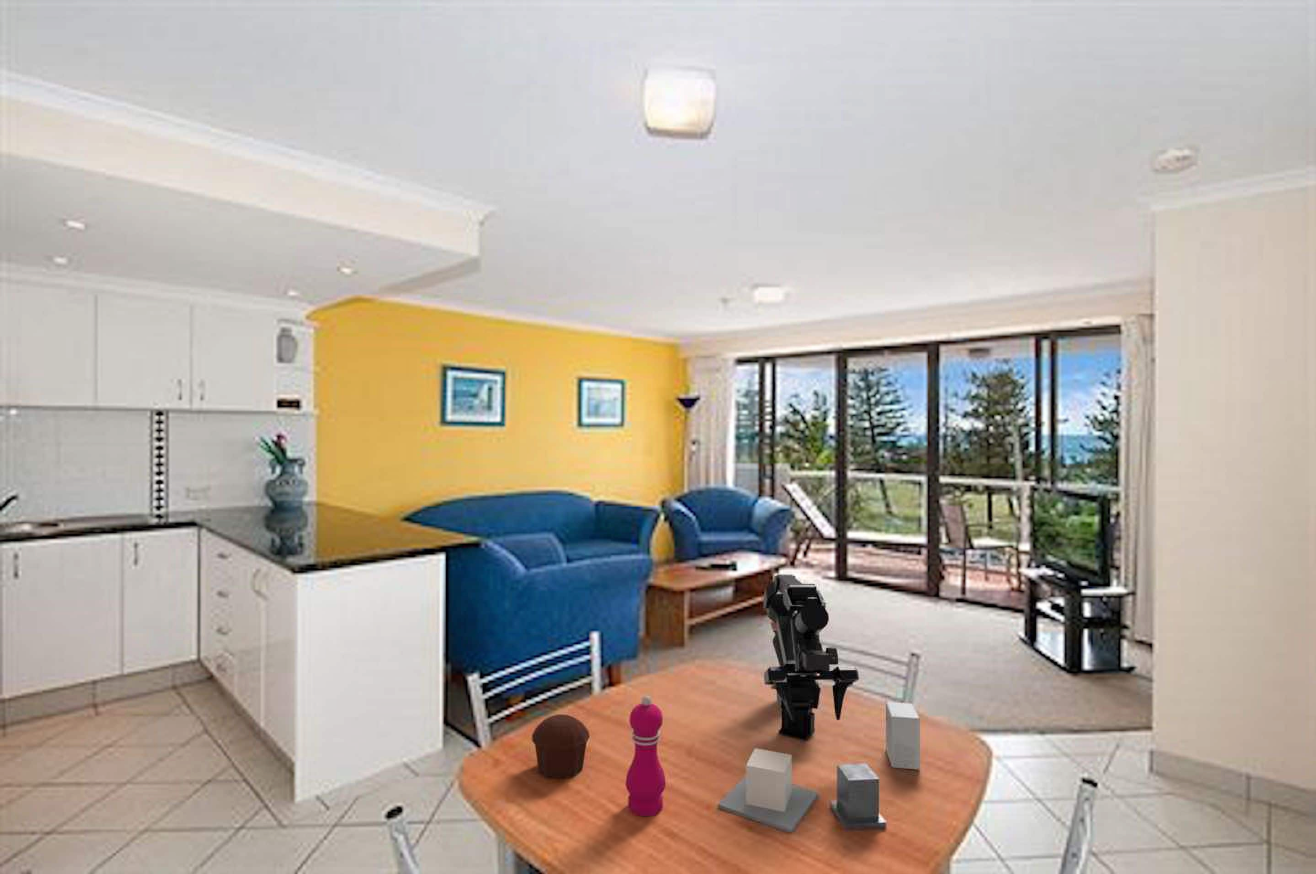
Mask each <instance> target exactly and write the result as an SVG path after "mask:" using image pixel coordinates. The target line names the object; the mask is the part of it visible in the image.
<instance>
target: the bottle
mask: <svg viewBox="0 0 1316 874" xmlns="http://www.w3.org/2000/svg"><path fill="white" fill-rule="evenodd" d="M769 623H770V627H771V630H772V632H773V633H774V636H773V639H772V645H773V647H774V651H775V655H776V657H777V660H778V666H779V667H784V662H783V657H782V652H781V647H780V642H779V637H778V632H777V627H776V624H775V623H774V622H773V621H772V620H771V619H770V621H769Z"/></svg>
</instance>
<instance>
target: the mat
mask: <svg viewBox="0 0 1316 874" xmlns="http://www.w3.org/2000/svg"><path fill="white" fill-rule="evenodd" d="M819 796H820V793H819V791H815V790H812V789H809V788H806V787H802V786H799V785H796V784H793V783H792V785H791V795H790V798H789V801H788V804H787V807H786V810H785V812H781V811H776V810H771V809H767V808H762V807H757V806H753V805H748V804H746V775H745V776H744V777H743V778H742V779H741V780H740V781H739V782H738V783H737V784H736V785H735V786H734V787H733V788H732V789H731V790H730V791H729V792H728V793H727V794H726V795H725V796H724V797H723V798H722V799H721V800H720V801H719V802H718V803H717V808H718V809H722V810H724V811H727V812H729V813H731V814H732V813H733V814H735V815H737V816H740V817H744V818H747V819H748V820H749V819H750V820H751V821H754V822H758V823H760V824H763V825H766V826H769V827H772V828H775V829H778V830H781V831H783V832H786V833H789V834H792V833H793V831H795V830H796V829H797V826H798V825H799V824H800V822H801V821H802V820H803V818H804V817H805V815H806V814H807V812H808V811H809V810H810V808H812V806H813V804H814V802H816V800H817V799H818V798H819Z"/></svg>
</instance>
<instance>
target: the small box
mask: <svg viewBox="0 0 1316 874" xmlns="http://www.w3.org/2000/svg"><path fill="white" fill-rule="evenodd" d="M920 719H921V718H920V716H919V715H918V713H917V711H916V709H915V707H914V704H913V703H908V702H904V703H903V702H893V701H886V702H885V751H886V753H887V757H888V760H889V763H890V765H891V766H890V767H891V768H897V769H908V770H916V771H918V770H919V771H920V769H921V757H920V755H921V752H920V751H921V742H920V741H921V734H920V733H921V732H920V731H921V730H920V728H921V726H920V725H921V723H920V722H921V720H920Z"/></svg>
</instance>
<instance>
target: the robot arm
mask: <svg viewBox="0 0 1316 874" xmlns="http://www.w3.org/2000/svg"><path fill="white" fill-rule="evenodd" d="M817 587H818V586H817V585H816V584H814V583H803V582H801V581H800V580H798V579H797V578H796V575H793V574H780V573H779V574H778V573H777V575H774V577H773V580H772V581H771V582H770V583H769V584H768V585H767V586H765V589H764V594H763V600H762V601H763V608H764V609H765V610H766V614H767V618H768V619H769V620H770V621H771V620H772V621H773V622H774V623H775V624H776V627H777V632H778V637H779V642H780V647H781V652H782V657H783V662H784V667H780V666H769V667H768V668H767V669H766V670H765V671H764V673H763V680H764V681H763V683H764V685H766V686H768V685H769V686H770V689H771V690H775V691H776V701H777V704H778V706H779V708H780V710H781V721H780V722H781V726H780V727H781V728H780V729H778V734H779V735H784V736H788V737H790V738H791V737H792V738H794V739H799V740H802V741H807V740H808V739H809V737H810V736H811V735H812V734H813V733H814V732H815V731H816V728H815V719H816V718H815V713H814V712H813V709H815V710H818V708H819V704H820V703H819V702H820V696H821V695H820V694H821V686H819V682H818V681H833V682H834V684H833V685H832V695H833V706H834V708H833V709H834V714H835V719H836V721H840V720H841V714H842V709H843V702H844V698H845V695H846V692H847V689H848V688H849V687H851V686H852V685H854V683H856V682H858V681H859V680H860V678H859V672H858V670H857V668H856V667H855V666H854V665H841V666H840V665H839V654H838V649H837V647H832V646H831V647H828V646H827V647H826V648H825V650H823V646H822V643H821V639H820V633H821V632H822V631H823V630H824V629H825V628H826V627H827V625H828V623H829V620H830V616H829V613H828V611H827V609H826V607H827V606H826V605H827V603H826V600H825V599H824V597H823V595H822V593H821V592H820V589H819V588H817ZM830 665H831V666H833V665H834V666H835V665H838V666H836V667H834V668H833V669H832V670H830V669H831V668H830Z"/></svg>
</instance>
